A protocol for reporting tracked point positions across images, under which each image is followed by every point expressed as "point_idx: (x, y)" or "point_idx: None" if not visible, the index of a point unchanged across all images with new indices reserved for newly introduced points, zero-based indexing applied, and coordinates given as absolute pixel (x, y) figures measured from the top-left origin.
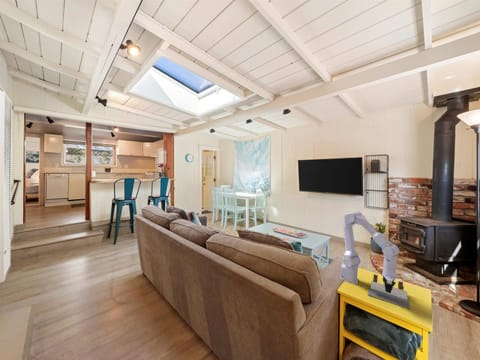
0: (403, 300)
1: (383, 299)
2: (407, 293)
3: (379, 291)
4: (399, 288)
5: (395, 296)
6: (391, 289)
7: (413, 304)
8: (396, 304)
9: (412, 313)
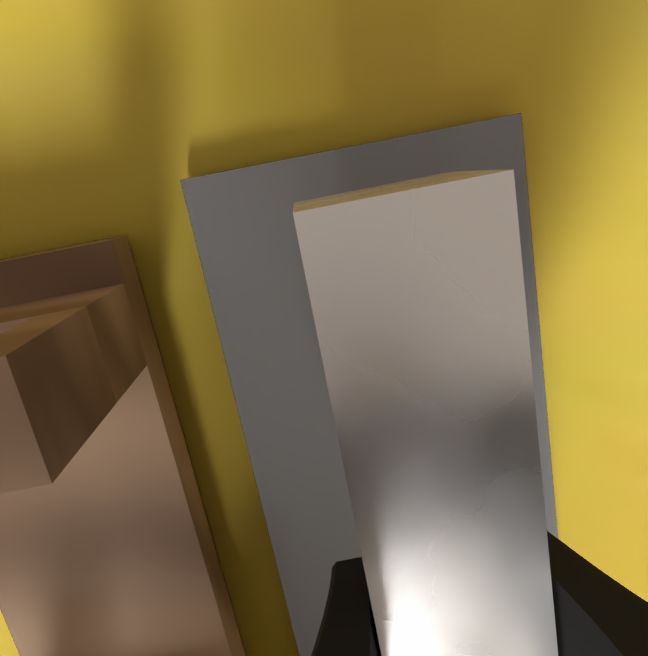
0: (284, 248)
1: (555, 516)
2: (470, 179)
3: (305, 619)
4: (90, 416)
5: (247, 389)
6: (625, 591)
7: (222, 71)
8: (537, 325)
9: (619, 53)
